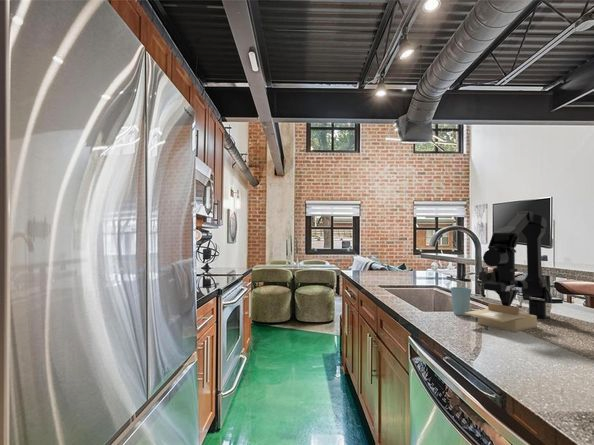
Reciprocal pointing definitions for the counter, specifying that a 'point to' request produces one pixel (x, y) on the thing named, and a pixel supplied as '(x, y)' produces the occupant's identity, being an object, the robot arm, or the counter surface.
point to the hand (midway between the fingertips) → (506, 309)
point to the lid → (497, 313)
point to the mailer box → (511, 323)
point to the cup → (460, 300)
